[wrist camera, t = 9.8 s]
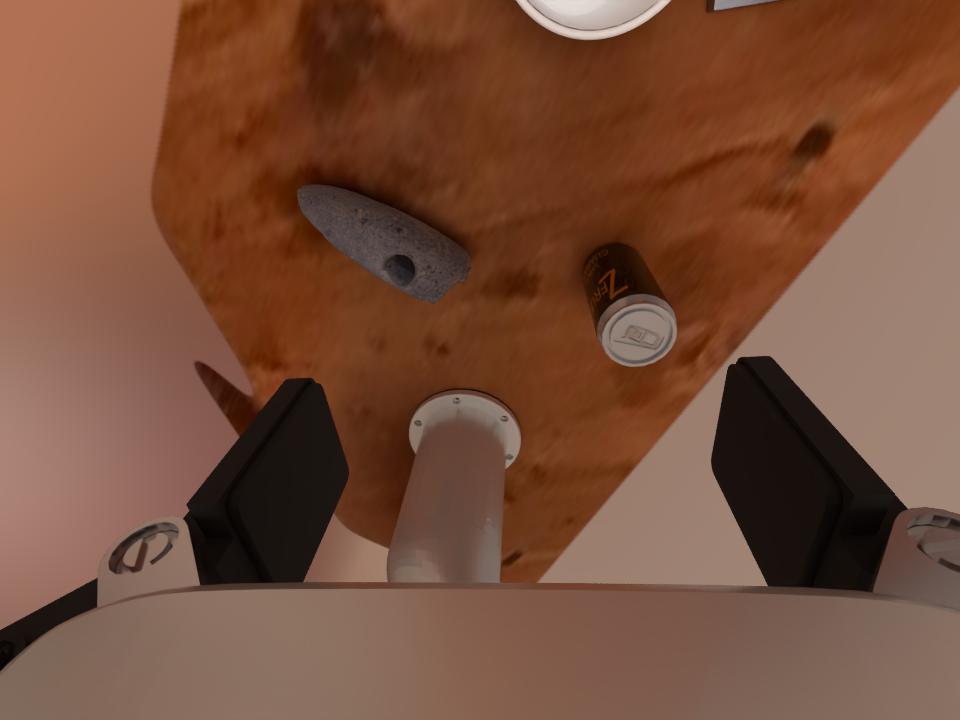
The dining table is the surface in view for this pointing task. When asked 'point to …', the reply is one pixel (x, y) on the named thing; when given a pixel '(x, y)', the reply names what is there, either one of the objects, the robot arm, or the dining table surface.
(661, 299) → the beer can
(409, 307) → the dining table surface
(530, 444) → the dining table surface
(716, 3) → the base
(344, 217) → the perforated stone tool
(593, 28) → the coffee cup
